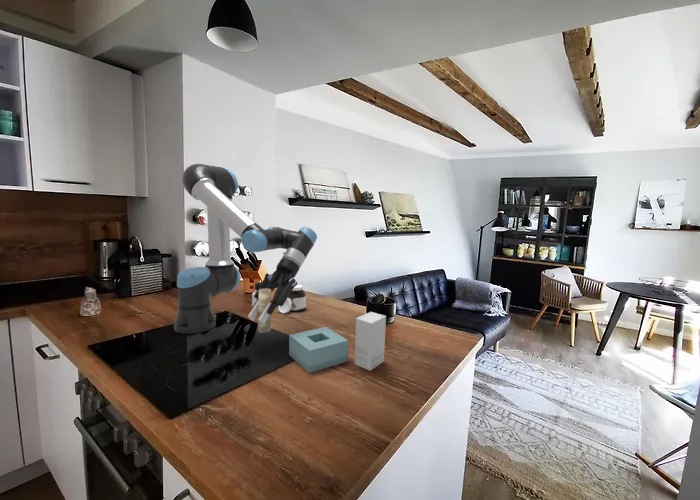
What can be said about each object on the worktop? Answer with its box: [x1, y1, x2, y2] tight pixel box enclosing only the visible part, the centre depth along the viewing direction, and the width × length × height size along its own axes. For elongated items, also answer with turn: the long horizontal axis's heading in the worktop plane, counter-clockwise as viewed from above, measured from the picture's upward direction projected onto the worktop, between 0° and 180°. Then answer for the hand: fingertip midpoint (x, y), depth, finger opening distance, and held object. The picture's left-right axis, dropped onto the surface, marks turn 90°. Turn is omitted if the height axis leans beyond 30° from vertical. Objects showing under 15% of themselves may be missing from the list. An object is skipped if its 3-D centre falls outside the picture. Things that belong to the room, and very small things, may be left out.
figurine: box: [80, 286, 102, 316], centre depth 138 cm, size 7×7×12 cm
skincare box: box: [354, 311, 387, 371], centre depth 100 cm, size 8×7×16 cm
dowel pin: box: [257, 288, 272, 334], centre depth 106 cm, size 4×4×14 cm
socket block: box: [288, 326, 349, 374], centre depth 103 cm, size 14×14×7 cm
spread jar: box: [277, 284, 307, 314], centre depth 151 cm, size 12×11×12 cm
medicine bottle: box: [251, 281, 263, 308], centre depth 156 cm, size 7×7×12 cm
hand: (256, 320), depth 103 cm, fingers closed on dowel pin, 4 cm apart
